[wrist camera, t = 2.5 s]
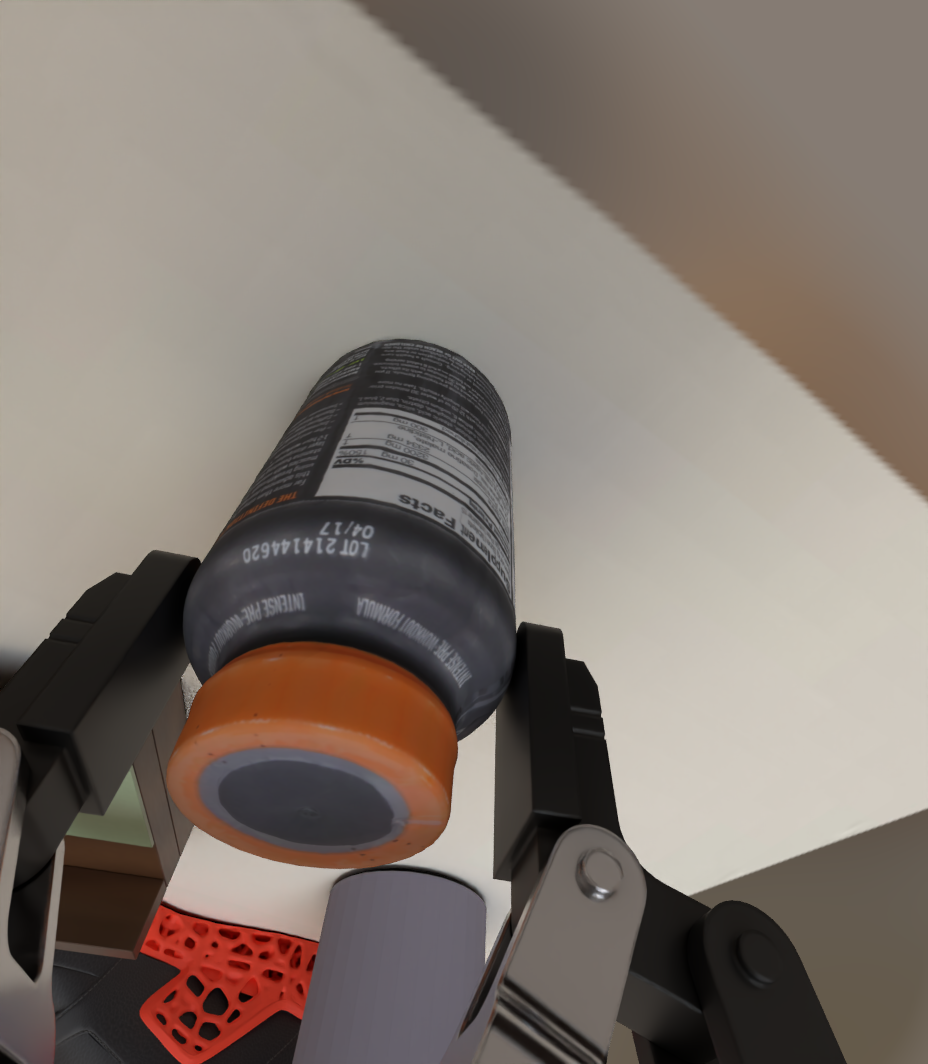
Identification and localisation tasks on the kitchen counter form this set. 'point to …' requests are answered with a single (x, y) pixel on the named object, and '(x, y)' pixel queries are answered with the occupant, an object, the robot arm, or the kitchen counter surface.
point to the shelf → (125, 853)
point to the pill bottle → (354, 617)
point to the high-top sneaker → (184, 997)
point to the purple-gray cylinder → (392, 969)
